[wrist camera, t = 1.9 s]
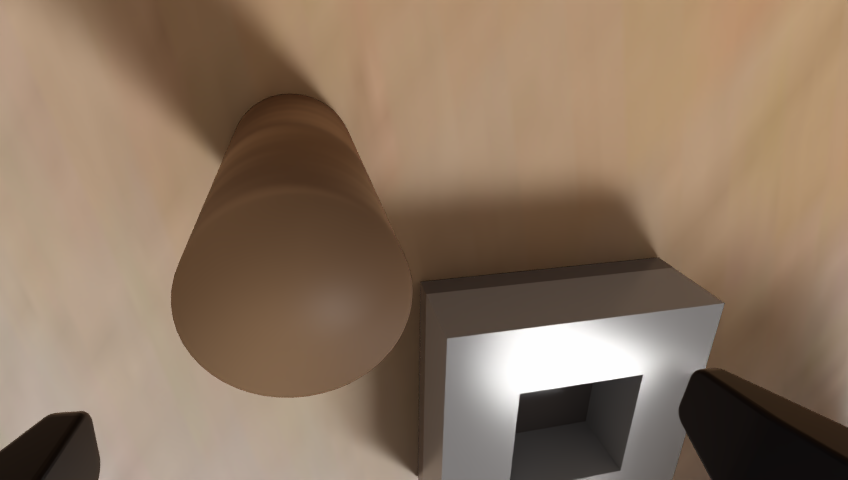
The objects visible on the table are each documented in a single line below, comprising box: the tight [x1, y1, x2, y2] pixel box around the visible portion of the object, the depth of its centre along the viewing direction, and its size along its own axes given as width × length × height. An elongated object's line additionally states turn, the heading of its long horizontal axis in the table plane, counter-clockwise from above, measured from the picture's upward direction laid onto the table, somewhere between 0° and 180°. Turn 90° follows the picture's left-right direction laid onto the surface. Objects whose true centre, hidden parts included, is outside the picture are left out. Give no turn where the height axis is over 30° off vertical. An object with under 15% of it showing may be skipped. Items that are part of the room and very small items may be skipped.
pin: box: [171, 94, 413, 398], centre depth 13 cm, size 4×4×10 cm
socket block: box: [418, 258, 725, 480], centre depth 23 cm, size 11×11×4 cm
